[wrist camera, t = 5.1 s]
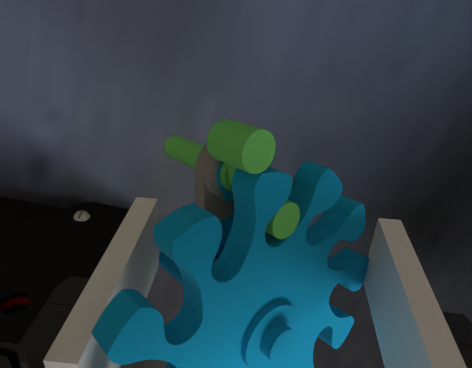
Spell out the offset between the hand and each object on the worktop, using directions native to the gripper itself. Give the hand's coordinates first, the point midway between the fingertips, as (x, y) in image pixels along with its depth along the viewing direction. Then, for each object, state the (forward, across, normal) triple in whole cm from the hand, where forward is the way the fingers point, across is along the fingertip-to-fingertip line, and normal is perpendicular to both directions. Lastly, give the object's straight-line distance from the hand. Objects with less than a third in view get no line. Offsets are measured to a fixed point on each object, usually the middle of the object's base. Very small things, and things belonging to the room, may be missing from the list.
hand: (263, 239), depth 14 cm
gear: (+1, 0, 0) cm, 1 cm away
